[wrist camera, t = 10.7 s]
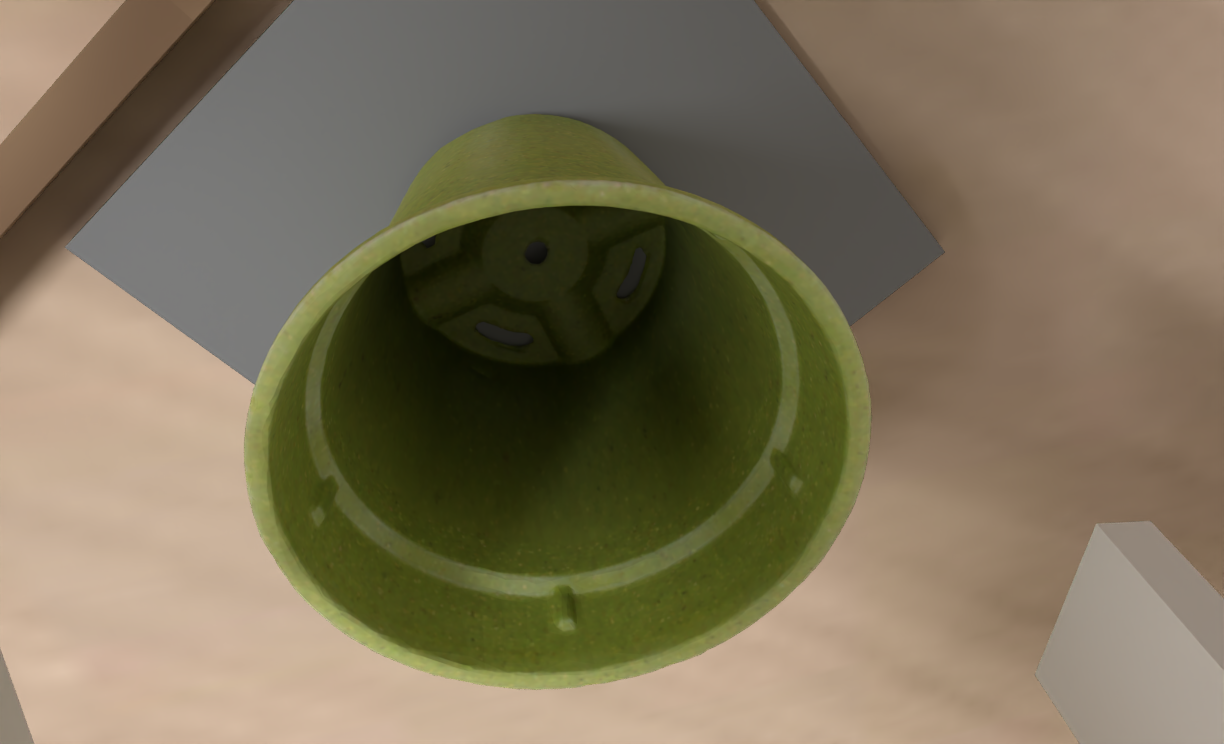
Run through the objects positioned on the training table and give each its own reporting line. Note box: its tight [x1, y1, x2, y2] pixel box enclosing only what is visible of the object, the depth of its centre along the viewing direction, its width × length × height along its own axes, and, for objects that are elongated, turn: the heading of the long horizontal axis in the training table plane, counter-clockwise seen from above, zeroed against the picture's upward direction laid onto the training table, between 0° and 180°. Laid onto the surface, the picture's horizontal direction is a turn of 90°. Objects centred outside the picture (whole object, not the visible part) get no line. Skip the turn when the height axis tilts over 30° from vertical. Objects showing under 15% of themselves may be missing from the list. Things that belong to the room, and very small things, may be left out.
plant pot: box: [244, 114, 872, 690], centre depth 19 cm, size 9×9×9 cm
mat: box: [65, 0, 945, 384], centre depth 22 cm, size 14×14×1 cm
